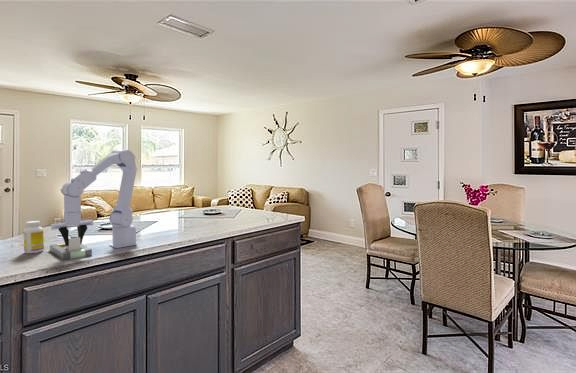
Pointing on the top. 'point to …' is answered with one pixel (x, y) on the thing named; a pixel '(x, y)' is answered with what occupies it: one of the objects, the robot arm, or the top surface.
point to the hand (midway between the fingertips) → (73, 244)
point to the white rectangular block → (73, 243)
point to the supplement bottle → (33, 237)
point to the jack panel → (65, 255)
